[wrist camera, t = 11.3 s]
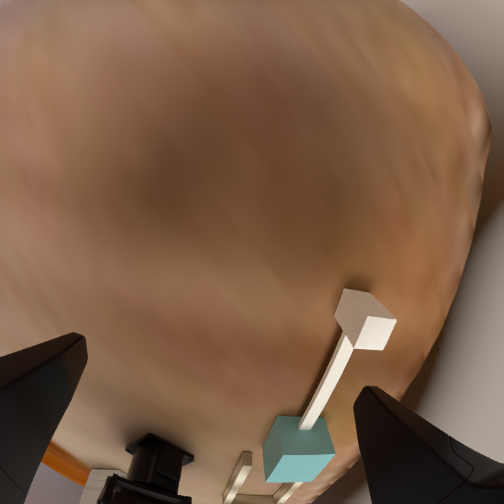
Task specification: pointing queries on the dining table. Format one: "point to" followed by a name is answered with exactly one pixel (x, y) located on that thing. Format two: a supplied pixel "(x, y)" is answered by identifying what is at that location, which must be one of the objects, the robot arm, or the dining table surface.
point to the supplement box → (97, 484)
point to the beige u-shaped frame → (231, 500)
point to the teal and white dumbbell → (325, 394)
